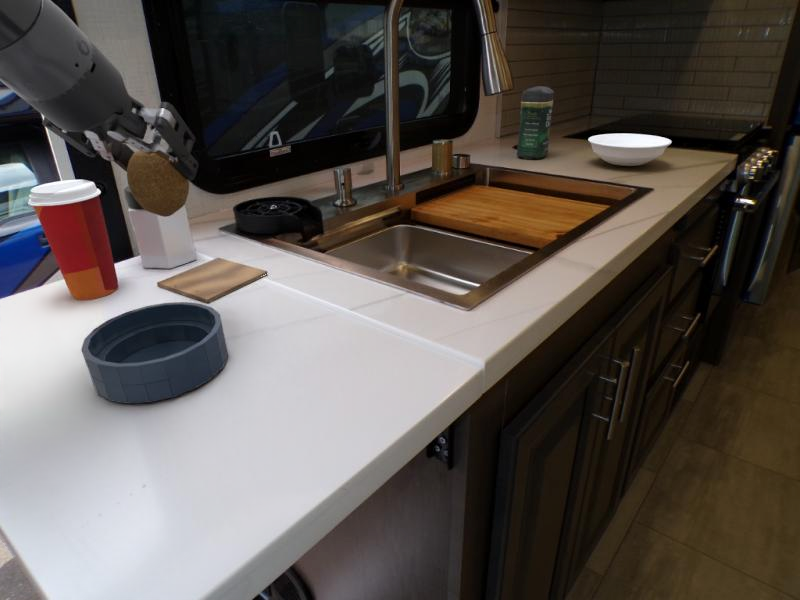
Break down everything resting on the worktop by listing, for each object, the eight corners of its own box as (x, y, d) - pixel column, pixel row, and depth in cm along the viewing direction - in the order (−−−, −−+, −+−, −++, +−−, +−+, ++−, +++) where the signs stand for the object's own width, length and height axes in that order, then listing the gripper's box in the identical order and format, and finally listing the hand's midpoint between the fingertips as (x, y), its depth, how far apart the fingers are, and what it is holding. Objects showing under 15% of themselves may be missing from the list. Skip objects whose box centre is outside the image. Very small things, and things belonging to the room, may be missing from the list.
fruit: (124, 221, 58) (104, 147, 55) (165, 206, 64) (149, 138, 60) (168, 226, 56) (151, 150, 53) (206, 210, 61) (193, 140, 58)
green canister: (541, 161, 143) (547, 88, 135) (513, 158, 147) (518, 87, 139) (551, 154, 151) (558, 85, 142) (524, 152, 154) (529, 84, 146)
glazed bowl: (69, 379, 54) (55, 342, 52) (178, 325, 64) (170, 292, 62) (144, 422, 48) (132, 382, 46) (253, 355, 58) (247, 319, 56)
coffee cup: (108, 274, 79) (79, 175, 73) (138, 286, 75) (109, 182, 68) (50, 295, 73) (11, 189, 67) (79, 309, 69) (41, 198, 62)
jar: (182, 246, 90) (166, 176, 84) (209, 256, 85) (194, 183, 80) (130, 262, 84) (110, 188, 78) (157, 274, 79) (137, 196, 74)
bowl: (608, 154, 149) (611, 131, 146) (680, 163, 136) (685, 138, 133) (570, 165, 137) (573, 140, 134) (645, 177, 124) (650, 149, 121)
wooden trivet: (157, 286, 75) (156, 282, 75) (218, 261, 83) (218, 257, 83) (207, 303, 70) (206, 299, 69) (268, 274, 78) (267, 270, 77)
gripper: (-37, 99, 44) (102, 198, 60) (108, 98, 41) (215, 204, 57) (-4, 29, 46) (122, 142, 62) (136, 24, 43) (232, 145, 59)
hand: (166, 171), depth 59 cm, fingers closed on fruit, 6 cm apart
